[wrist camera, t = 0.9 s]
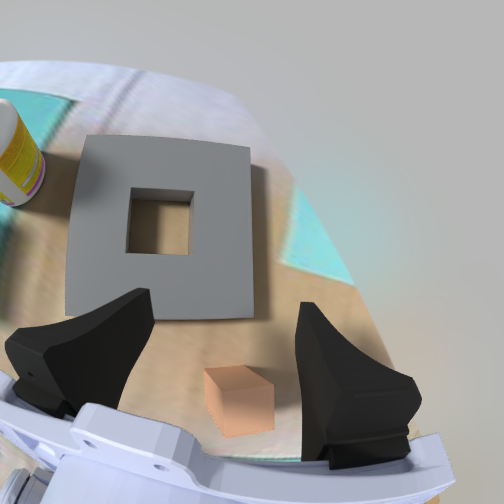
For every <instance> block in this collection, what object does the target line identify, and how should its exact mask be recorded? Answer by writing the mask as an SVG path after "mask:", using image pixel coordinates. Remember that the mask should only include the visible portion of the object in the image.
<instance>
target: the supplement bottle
mask: <svg viewBox="0 0 504 504" xmlns="http://www.w3.org/2000/svg"><path fill="white" fill-rule="evenodd" d="M44 175H45V160H44V157H43V155H42V153H41V151H40V150H39V148H38V147H37V145H36V143H35V142H34V140H33V138H32V137H31V135H30V133H29V132H28V130H27V128H26V127H25V125H24V123H23V121H22V120H21V118H20V116H19V114H18V112H17V110H16V109H15V107H14V106H13V104H12V103H11V102H10V101H8V100H6V99H2V98H0V202H2V203H3V204H5V205H7V206H19V205H21V204H24V203H25V202H27V201H28V200H30V199H31V198H32V197H33V196H34V195H35V193H36V192H37V191H38V189H39V188H40V186H41V184H42V181H43V178H44Z"/></svg>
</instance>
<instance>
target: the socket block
mask: <svg viewBox="0 0 504 504" xmlns="http://www.w3.org/2000/svg"><path fill="white" fill-rule="evenodd" d="M133 199H143V200H163V201H180V202H190V208H189V241H188V255H167V254H138V253H129V235H130V222H131V210H132V200H133ZM136 288H147V289H150V296H151V303H152V309H153V315H154V319H228V318H252V317H254V293H253V249H252V206H251V163H250V147H244V146H237V145H230V144H223V143H215V142H207V141H198V140H188V139H178V138H166V137H151V136H131V135H87V136H86V140H85V143H84V147H83V151H82V155H81V160H80V164H79V169H78V173H77V178H76V184H75V189H74V195H73V201H72V208H71V215H70V223H69V231H68V242H67V254H66V273H65V315H66V316H81V315H84V314H86V313H88V312H91V311H93V310H95V309H97V308H99V307H101V306H103V305H105V304H107V303H109V302H111V301H113V300H115V299H116V298H118V297H120V296H122V295H124V294H126V293H128V292H130V291H132V290H134V289H136Z"/></svg>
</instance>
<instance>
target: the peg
mask: <svg viewBox="0 0 504 504" xmlns="http://www.w3.org/2000/svg"><path fill="white" fill-rule="evenodd" d="M204 387H205V402H206V407H207V409H208V411H209V413H210V414H211V416H212V418H213V419H214V421H215V423H216V425H217V426H218V428H219V429H220V431H221V433H222V434H223V436H224V438H229V437H236V436H243V435H249V434H254V433H260V432H265V431H270V430H274V385H273V384H272V383H270V382H269V381H267V380H266V379H264V378H262V377H261V376H259V375H258V374H256V373H255V372H253V371H252V370H250V369H249V368H247V367H246V366H244V365H243V366H232V367H219V368H204Z"/></svg>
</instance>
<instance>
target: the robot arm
mask: <svg viewBox="0 0 504 504" xmlns="http://www.w3.org/2000/svg"><path fill="white" fill-rule="evenodd" d="M154 324H155V321H154V315H153V309H152V303H151V296H150V289H147V288H136V289H134V290H132V291H130V292H128V293H126V294H124V295H122V296H120V297H118V298H116V299H115V300H113V301H111V302H109V303H107V304H105V305H103V306H101V307H99V308H97V309H95V310H93V311H91V312H88V313H86V314H84V315H81V316H78V317H76V318H73V319H69V320H66V321H62V322H59V323H55V324H50V325H45V326H38V327H27V328H18V329H17V330H16V331H15V332H14V333H13V334H12V335H11V336H10V337H9V338H8V339H7V340H6V341H5V350H6V354H7V356H8V358H9V360H10V362H11V364H12V365H13V367H14V369H15V371H16V372H17V374H18V376H19V377H20V378H19V379H18V381H17V382H16V381H15V380H14V379H13V378H12V377H11V376H9V375H8V374H6V373H4V372H3V371H1V370H0V433H1V434H2V435H3V436H5V437H6V438H7V439H8V440H10V441H11V442H12V443H14V444H15V445H16V446H18V447H19V448H20V449H22V450H23V451H24V452H26V453H27V454H28V455H30V456H31V457H33V458H34V459H35V460H37V461H38V462H40V463H41V464H40V466H39V467H36V469H35V471H34V473H33V475H32V476H30V473H31V472H29V471H28V470H27V469H25V468H23V469H15V470H14V471H13V472H12V473H11V475H10V476H9V478H8V479H7V481H6V483H5V485H4V486H3V488H2V490H1V492H0V504H423V503H425V502H427V501H428V500H430V499H431V498H433V497H434V496H436V495H437V494H439V493H440V492H442V491H443V490H445V489H446V488H447V487H449V486H450V485H451V484H453V483H454V482H455V481H456V478H455V475H454V472H453V469H452V466H451V463H450V460H449V458H448V455H447V452H446V449H445V447H444V444H443V441H442V439H441V436H440V434H439V433H434V434H430V435H426V436H422V437H418V438H415V439H413V440H411V441H410V442H408V439H407V436H406V435H408V434H409V429H408V426H407V424H408V423H409V422H410V420H411V419H412V418H413V416H414V415H415V413H416V412H417V411H418V409H419V407H420V405H421V401H422V398H421V394H420V392H419V390H418V387H417V385H416V383H415V381H414V380H413V378H412V377H409V376H407V375H404V374H401V373H399V372H397V371H394V370H392V369H390V368H388V367H386V366H384V365H382V364H380V363H378V362H377V361H375V360H373V359H372V358H370V357H369V356H367V355H366V354H364V353H363V352H361V351H360V350H359V349H357V348H356V347H355V346H354V345H352V344H351V343H350V342H349V341H348V340H347V339H346V338H344V337H343V336H342V335H341V334H340V333H339V332H338V331H337V330H336V328H335V327H334V326H333V325H332V324H331V323H330V322H329V321H328V319H327V318H326V317H325V316H324V314H323V313H322V312H321V311H320V309H319V308H318V307H317V306H316V304H315V303H314V302H301V303H300V310H299V316H298V322H297V328H296V334H295V355H296V361H297V368H298V374H299V381H300V388H301V396H302V454H301V462H275V461H254V460H241V459H231V458H222V457H215V456H211V455H208V454H204V453H203V452H202V447H201V444H200V443H199V442H198V441H197V439H196V438H195V437H194V436H193V435H192V434H191V433H189V432H187V431H186V430H184V429H182V428H181V427H177V426H174V425H171V424H168V423H165V422H161V421H157V420H153V419H149V418H145V417H141V416H137V415H133V414H130V413H126V412H123V411H120V410H117V407H118V404H119V401H120V398H121V395H122V392H123V389H124V386H125V384H126V381H127V379H128V376H129V374H130V372H131V370H132V368H133V367H134V365H135V363H136V361H137V359H138V358H139V356H140V354H141V352H142V350H143V349H144V347H145V345H146V343H147V341H148V339H149V337H150V335H151V332H152V329H153V327H154ZM27 481H28V483H27Z"/></svg>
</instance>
